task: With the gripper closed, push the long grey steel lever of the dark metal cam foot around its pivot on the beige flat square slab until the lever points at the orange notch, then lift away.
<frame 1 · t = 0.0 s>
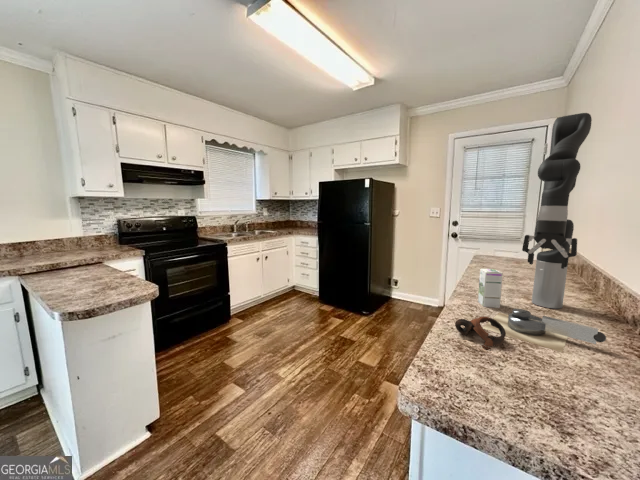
hand: (546, 266, 94), 17 cm above the table, tool pointing down, fingers open, 8 cm apart
syrup box: (487, 308, 101), on the table
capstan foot: (552, 327, 76), point 4 cm above the table, hinge at 0.0°
brown curved loop piece: (477, 342, 76), on the table
beige flat square slab: (525, 334, 80), on the table
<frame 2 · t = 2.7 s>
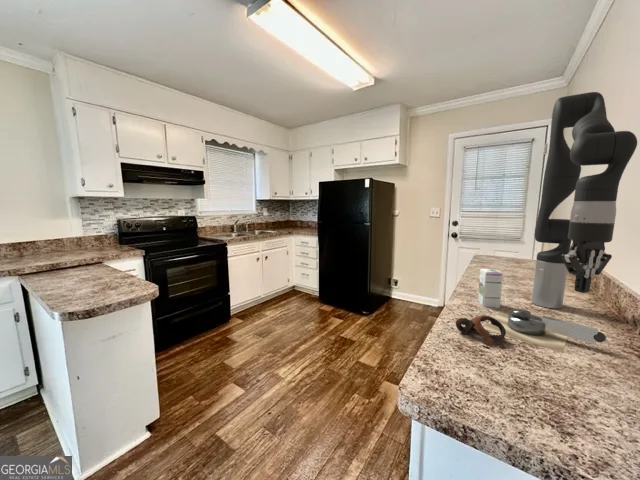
hand: (581, 291, 66), 17 cm above the table, tool pointing down, fingers closed
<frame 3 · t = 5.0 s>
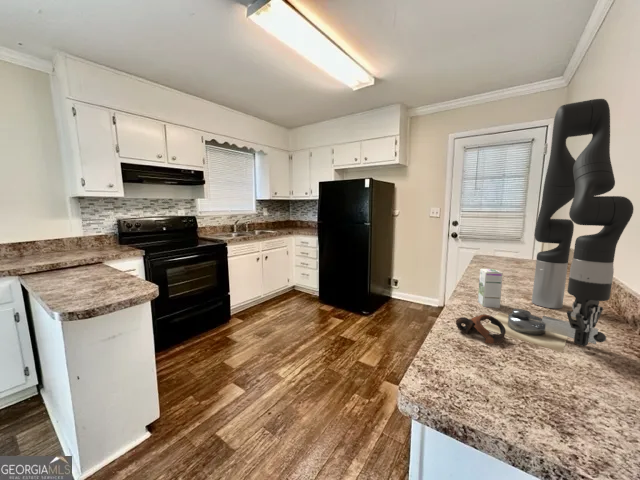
hand: (580, 344, 69), 3 cm above the table, tool pointing down, fingers closed
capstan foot: (552, 327, 76), point 4 cm above the table, hinge at 0.0°, touching gripper
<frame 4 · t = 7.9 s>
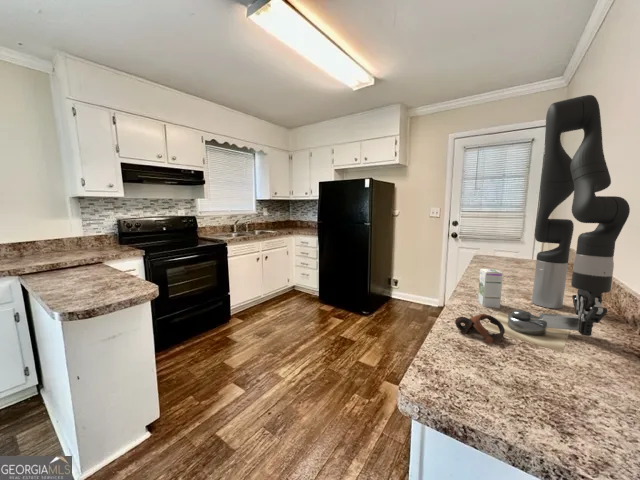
hand: (584, 334, 74), 3 cm above the table, tool pointing down, fingers closed
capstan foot: (549, 322, 79), point 4 cm above the table, hinge at 34.4°, touching gripper
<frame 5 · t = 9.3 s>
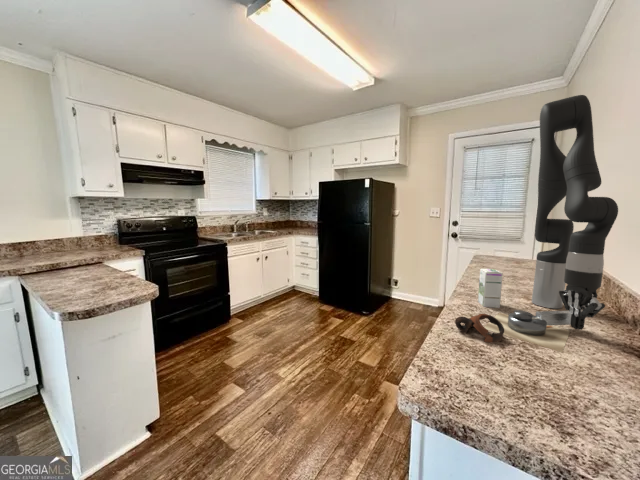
hand: (576, 328, 77), 3 cm above the table, tool pointing down, fingers closed
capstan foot: (545, 320, 80), point 4 cm above the table, hinge at 52.1°, touching gripper
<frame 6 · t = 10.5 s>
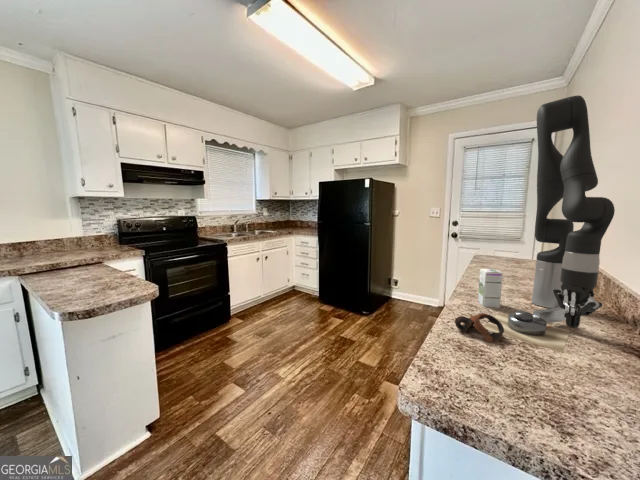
hand: (571, 326, 79), 3 cm above the table, tool pointing down, fingers closed
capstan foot: (541, 318, 81), point 4 cm above the table, hinge at 62.9°
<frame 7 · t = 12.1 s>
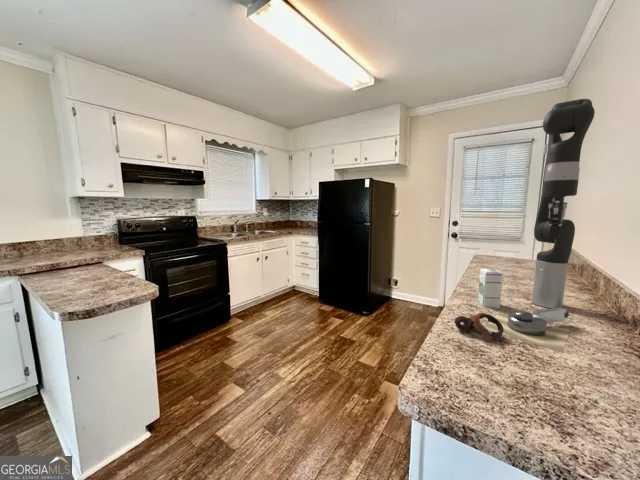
hand: (554, 238, 81), 28 cm above the table, tool pointing down, fingers closed
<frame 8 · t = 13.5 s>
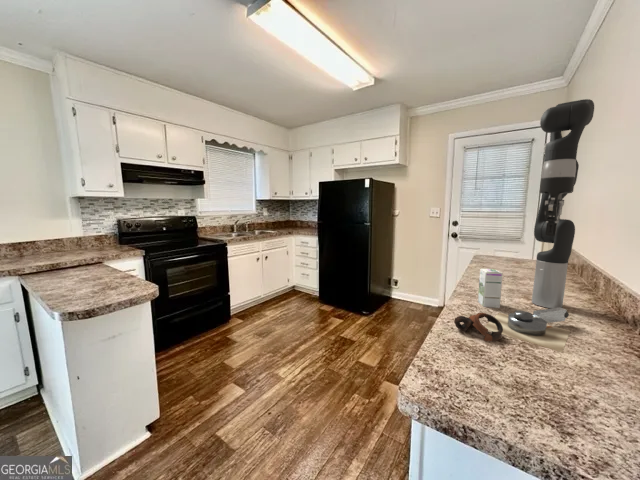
hand: (550, 235, 81), 29 cm above the table, tool pointing down, fingers closed
at the end: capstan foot at +63° (first picture: +0°) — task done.
